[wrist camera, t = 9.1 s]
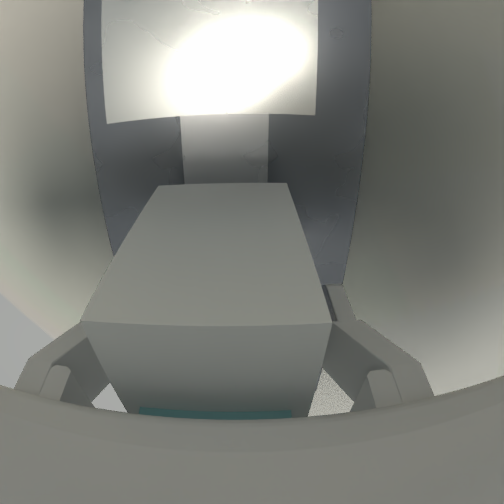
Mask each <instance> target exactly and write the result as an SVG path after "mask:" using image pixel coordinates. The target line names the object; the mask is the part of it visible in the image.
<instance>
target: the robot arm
mask: <svg viewBox="0 0 504 504" xmlns="http://www.w3.org/2000/svg"><path fill="white" fill-rule="evenodd" d="M321 287H322V290H323V293H324V296H325V300H326V303H327V306H328V309H329V313H330V316H331V319H332V327H331V331H330V336H329V340H328V344H327V348H326V352H325V356H324V360H323V363H322V368H323V369H324V370H325V371H326V372H327V373H328V374H329V375H330V376H331V378H332V379H333V380H334V381H335V382H336V383H337V384H338V385H339V386H340V387H341V388H342V389H343V391H344V392H345V393H346V394H347V395H348V396H349V397H350V398H351V399H352V400H353V401H354V404H353V406H352V408H351V410H350V412H347V413H339V414H331V415H321V416H311V417H298V418H282V419H257V420H214V419H190V418H174V417H162V416H151V415H142V414H133V413H125V412H118V411H111V410H105V409H98V408H95V407H94V406H93V404H92V403H91V402H92V401H93V400H94V399H95V398H96V397H97V396H98V395H99V394H100V392H101V391H102V390H103V389H104V388H105V387H106V386H107V385H108V384H109V383H110V381H109V379H108V377H107V375H106V373H105V371H104V370H103V368H102V366H101V364H100V362H99V360H98V358H97V356H96V354H95V352H94V350H93V348H92V346H91V344H90V342H89V339H88V337H87V335H86V333H85V331H84V329H83V326H82V324H81V322H79V323H78V324H77V325H75V326H74V327H72V328H71V329H69V330H68V331H67V332H65V333H64V334H62V335H61V336H59V337H58V338H57V339H55V340H54V341H52V342H51V343H50V344H48V345H47V346H45V347H44V348H43V349H41V350H40V351H38V352H37V353H36V354H34V355H33V356H31V357H30V358H29V359H28V361H27V363H26V365H25V367H24V369H23V371H22V373H21V375H20V377H19V379H18V381H17V383H16V385H15V387H14V389H12V388H8V387H5V386H2V385H0V504H504V376H501V377H498V378H495V379H492V380H489V381H486V382H483V383H480V384H477V385H474V386H470V387H467V388H464V389H460V390H456V391H453V392H449V393H445V394H441V395H437V396H434V394H433V391H432V389H431V386H430V384H429V382H428V379H427V377H426V375H425V373H424V370H423V368H422V366H421V364H420V362H419V361H417V360H416V359H414V358H413V357H412V356H410V355H409V354H408V353H406V352H405V351H403V350H402V349H401V348H399V347H398V346H396V345H395V344H394V343H392V342H391V341H390V340H388V339H387V338H385V337H384V336H383V335H381V334H380V333H378V332H377V331H376V330H374V329H373V328H372V327H370V326H369V325H367V324H366V323H365V322H363V321H362V320H356V318H355V315H354V313H353V310H352V307H351V305H350V302H349V300H348V297H347V295H346V292H345V290H344V287H343V285H342V284H325V285H321Z"/></svg>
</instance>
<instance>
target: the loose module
mask: <svg viewBox="0 0 504 504" xmlns="http://www.w3.org/2000/svg"><path fill="white" fill-rule="evenodd" d="M80 322H81V324H82V326H83V329H84V331H85V333H86V335H87V337H88V339H89V342H90V344H91V346H92V348H93V350H94V352H95V354H96V356H97V358H98V360H99V362H100V364H101V366H102V368H103V370H104V371H105V373H106V375H107V377H108V379H109V381H110V383H111V384H112V386H113V388H114V390H115V391H116V393H117V395H118V397H119V399H120V400H121V402H122V404H123V405H124V407H125V409H126V410H127V412H128V413H133V414H142V415H151V416H162V417H174V418H190V419H214V420H257V419H282V418H298V417H308V413H309V410H310V407H311V403H312V400H313V396H314V393H315V389H316V386H317V382H318V378H319V375H320V371H321V367H322V363H323V360H324V356H325V352H326V348H327V344H328V340H329V336H330V331H331V327H332V319H331V316H330V313H329V309H328V306H327V303H326V300H325V296H324V293H323V290H322V287H321V283H320V280H319V277H318V274H317V271H316V268H315V265H314V261H313V258H312V255H311V252H310V249H309V246H308V243H307V240H306V237H305V234H304V231H303V228H302V225H301V222H300V220H299V217H298V214H297V211H296V208H295V205H294V202H293V199H292V197H291V194H290V191H289V188H288V185H287V183H211V184H182V185H161V186H158V187H157V189H156V190H155V192H154V193H153V195H152V196H151V198H150V199H149V201H148V202H147V204H146V205H145V207H144V208H143V210H142V212H141V213H140V215H139V216H138V218H137V219H136V221H135V223H134V224H133V226H132V228H131V229H130V231H129V232H128V234H127V236H126V237H125V239H124V241H123V242H122V244H121V246H120V247H119V249H118V251H117V253H116V254H115V256H114V258H113V260H112V261H111V263H110V265H109V267H108V268H107V270H106V272H105V274H104V276H103V277H102V279H101V281H100V283H99V285H98V286H97V288H96V290H95V292H94V294H93V296H92V298H91V300H90V302H89V304H88V305H87V307H86V309H85V311H84V313H83V315H82V317H81V319H80Z"/></svg>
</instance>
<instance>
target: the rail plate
mask: <svg viewBox="0 0 504 504" xmlns="http://www.w3.org/2000/svg"><path fill="white" fill-rule="evenodd" d="M371 26H372V8H371V0H84V21H83V36H84V68H85V85H86V97H87V108H88V118H89V127H90V135H91V142H92V150H93V156H94V163H95V169H96V175H97V181H98V186H99V192H100V197H101V202H102V207H103V212H104V217H105V221H106V226H107V230H108V235H109V239H110V243H111V247H112V251H113V255H114V256H115V254H116V253H117V251H118V249H119V247H120V246H121V244H122V242H123V241H124V239H125V237H126V236H127V234H128V232H129V231H130V229H131V228H132V226H133V224H134V223H135V221H136V219H137V218H138V216H139V215H140V213H141V212H142V210H143V208H144V207H145V205H146V204H147V202H148V201H149V199H150V198H151V196H152V195H153V193H154V192H155V190H156V189H157V187H158V186H161V185H182V184H211V183H287V185H288V188H289V191H290V194H291V197H292V199H293V202H294V205H295V208H296V211H297V214H298V217H299V220H300V222H301V225H302V228H303V231H304V234H305V237H306V240H307V243H308V246H309V249H310V252H311V255H312V258H313V261H314V265H315V268H316V271H317V274H318V277H319V280H320V283H321V285H325V284H342V283H343V278H344V273H345V268H346V263H347V258H348V253H349V247H350V242H351V236H352V230H353V224H354V218H355V212H356V205H357V199H358V192H359V184H360V177H361V169H362V161H363V152H364V143H365V134H366V123H367V112H368V99H369V83H370V64H371ZM321 371H322V367H321ZM321 371H320V375H321ZM320 375H319V378H320ZM319 378H318V382H319ZM318 382H317V385H318ZM316 389H317V386H316ZM316 389H315V391H316Z"/></svg>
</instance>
